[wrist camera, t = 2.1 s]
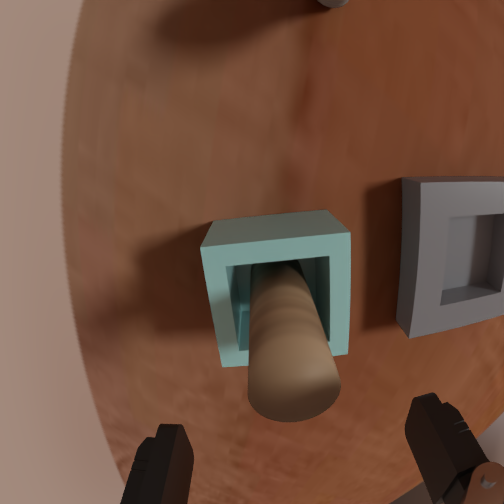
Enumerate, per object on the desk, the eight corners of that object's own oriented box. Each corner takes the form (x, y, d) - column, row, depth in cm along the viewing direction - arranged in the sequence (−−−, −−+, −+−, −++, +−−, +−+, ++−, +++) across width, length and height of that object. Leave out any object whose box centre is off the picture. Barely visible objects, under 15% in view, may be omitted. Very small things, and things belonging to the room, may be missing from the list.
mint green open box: (213, 220, 23) (199, 247, 17) (326, 209, 22) (350, 232, 17) (228, 319, 25) (222, 367, 20) (329, 309, 25) (347, 353, 19)
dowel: (247, 251, 22) (242, 362, 11) (300, 246, 22) (342, 350, 11) (253, 298, 23) (252, 425, 12) (302, 293, 23) (338, 416, 12)
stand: (401, 177, 21) (420, 182, 19) (509, 176, 21) (531, 182, 18) (395, 319, 25) (408, 338, 22) (495, 298, 25) (512, 311, 22)
